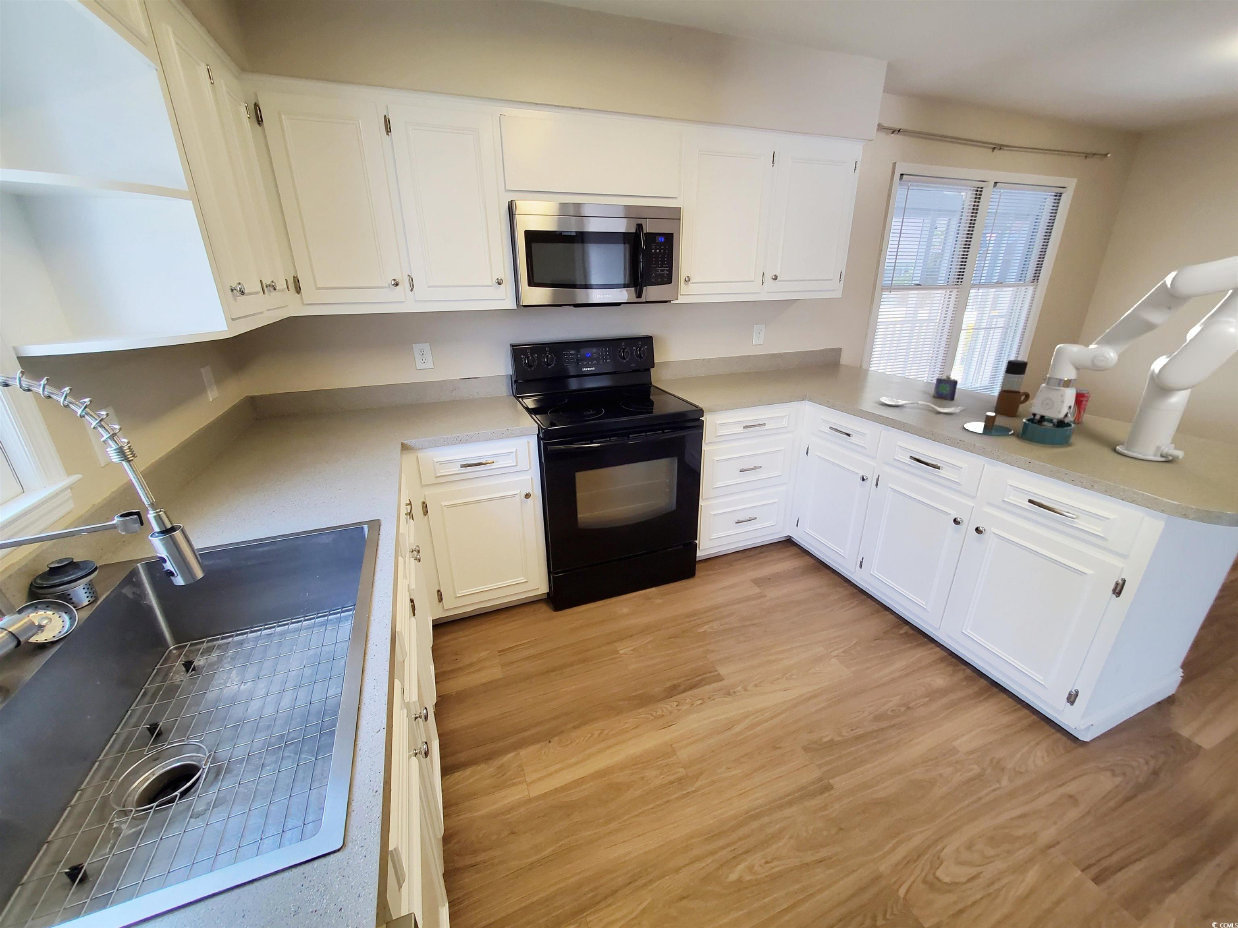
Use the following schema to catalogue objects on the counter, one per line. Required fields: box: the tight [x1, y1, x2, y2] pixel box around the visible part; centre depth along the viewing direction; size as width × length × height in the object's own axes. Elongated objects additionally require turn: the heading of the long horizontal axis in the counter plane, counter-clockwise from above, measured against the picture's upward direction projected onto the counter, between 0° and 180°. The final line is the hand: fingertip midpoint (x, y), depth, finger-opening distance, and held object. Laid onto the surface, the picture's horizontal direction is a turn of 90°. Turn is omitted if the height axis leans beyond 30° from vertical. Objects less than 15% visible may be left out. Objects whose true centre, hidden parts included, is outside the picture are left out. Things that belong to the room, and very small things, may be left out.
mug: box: [993, 389, 1031, 418], centre depth 198 cm, size 12×8×9 cm, turn 93°
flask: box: [932, 374, 959, 401], centre depth 225 cm, size 9×3×11 cm, turn 28°
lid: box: [963, 412, 1014, 437], centre depth 180 cm, size 15×15×7 cm
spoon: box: [878, 397, 966, 414], centre depth 210 cm, size 9×32×4 cm, turn 41°
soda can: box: [1063, 388, 1091, 424], centre depth 187 cm, size 6×6×12 cm
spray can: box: [999, 359, 1029, 392], centre depth 204 cm, size 7×7×20 cm
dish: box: [1018, 416, 1076, 447], centre depth 169 cm, size 14×14×6 cm
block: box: [1037, 422, 1052, 427], centre depth 169 cm, size 4×4×4 cm
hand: (1044, 434), depth 170 cm, fingers closed on block, 4 cm apart
